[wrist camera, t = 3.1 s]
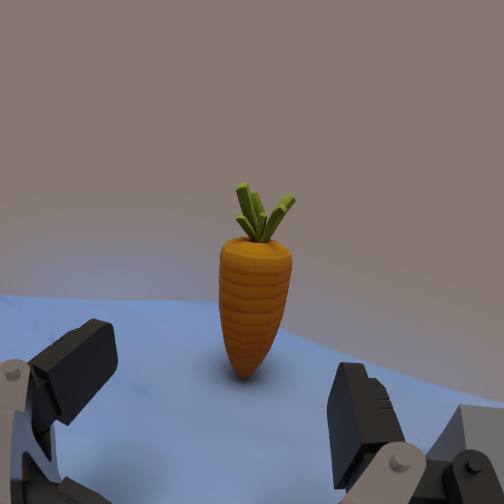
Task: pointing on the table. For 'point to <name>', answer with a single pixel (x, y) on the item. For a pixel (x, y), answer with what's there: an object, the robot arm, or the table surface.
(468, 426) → the box
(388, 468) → the robot arm
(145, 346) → the table surface
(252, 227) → the carrot
